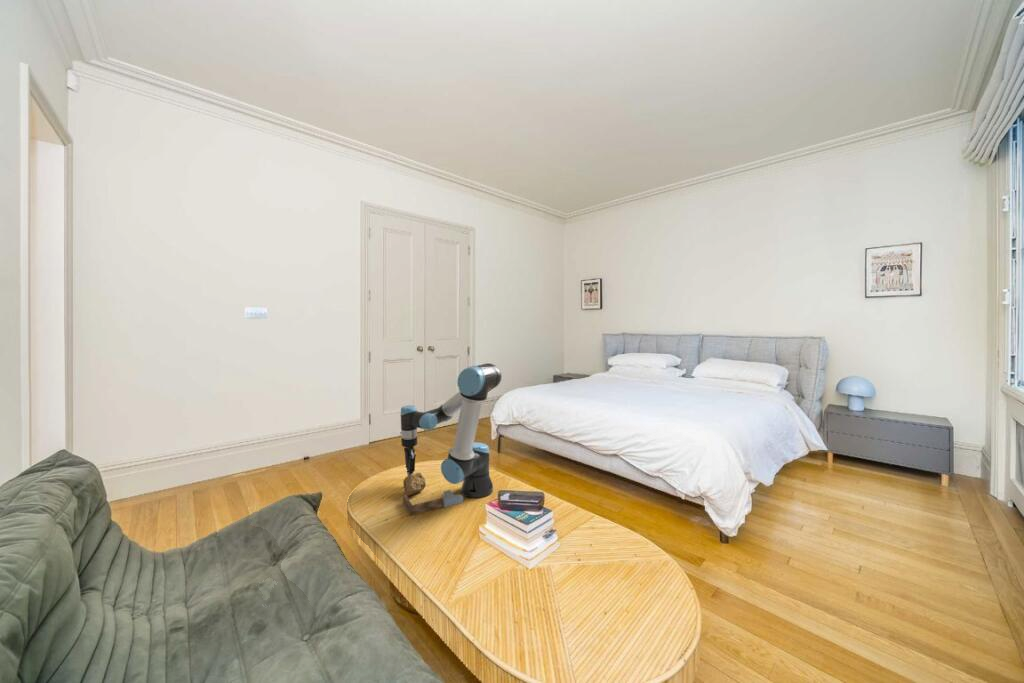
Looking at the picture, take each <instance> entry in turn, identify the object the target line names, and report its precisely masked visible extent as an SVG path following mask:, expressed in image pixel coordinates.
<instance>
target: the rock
mask: <svg viewBox="0 0 1024 683" xmlns="http://www.w3.org/2000/svg"><path fill="white" fill-rule="evenodd" d="M402 485H403V491H404V495H406V496H407V497H410V496H412V495H414V494H416V493H421V492H422V491H423V490H424V489H425V488H426V485H427V483H426V478H425V477H424V476H423V474H422V473H421V472H416V473H414V472H413V473H412V474H411V475H409V476H408V477H407V476H406V477H405V478H404V479H403V484H402Z"/></svg>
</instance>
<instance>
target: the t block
mask: <svg viewBox="0 0 1024 683" xmlns="http://www.w3.org/2000/svg"><path fill="white" fill-rule="evenodd" d="M442 498H443V499H444V507H443V508H448V507H452V506H456V505H460V504H462V503H463V504H464V495H463V494H462V493H457V494H454V493H453V492H452V491H451V490H450V489H449V490H443V497H442Z"/></svg>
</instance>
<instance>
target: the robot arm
mask: <svg viewBox="0 0 1024 683" xmlns="http://www.w3.org/2000/svg"><path fill="white" fill-rule="evenodd" d="M502 377H503V376H502V372H501V370H500V368H499V367H498V366H497V365H495V364H493V363H490V362H489V363H483V364H479V365H472V366H469V367H466V368H464V369H463V370H461V372H460V373H459V375H458V377H457V380H456V382H457V387H458V390H459V391H458V392H457V393H455V394H454V395H453V396H451V397H450V398H449V399H448V400H446V401H445V402H444V403H443V404H441V405H440V406H439V407H435V408H433V409H429V410H427V411H418V409H417V406H415V405H411V404H410V405H403V406H401V407H400V430H401V431H400V434H401V441H400V442H401V446H402V447H404V448H403V452H404V461H405V468H406V474H407V475H406V477H408V476H409V475H411V474H412V473H413V474H414V472H415V470H416V457H417V455H416V454H415V446H417V445H418V429H422V430H425V431H429V430H430V431H431V430H434V429H435V428H436V427H437V425H439V424H441V423H444V422H448V421H449V420H452V419H453V417H454V415H456V414H457V413H458V412H459V415H458V420H457V426H456V430H455V431H456V433H455V435H454V436H455V437H454V442H453V446H452V447H450V448H449V450H448V454H447V458H445V459H443V461H442V462H441V465H440V470H441V474H442V476H443V478H444V479H445V480H446V481H447V482H448V483H450V484H454V485H457V484H459V483H462V485H461V494H462V495H463V496H465V497H467V498H473V499H474V498H475V499H477V498H484V497H488V496H490V495H491V494H492V493H493V492H494V485H493V482H492V478H491V475H490V447H489V445H487V444H486V443H483V442H475V439H476V433H477V430H478V425H479V424H478V423H479V420H480V414H481V410H482V404H483V402H485V401H486V400H487V398H488V394H489V392H490V391H492V390H493V389H495V388H497V387H498V386H499V385H500V383H501V381H502Z"/></svg>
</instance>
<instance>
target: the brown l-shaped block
mask: <svg viewBox="0 0 1024 683" xmlns="http://www.w3.org/2000/svg"><path fill="white" fill-rule="evenodd" d="M443 498H444V497H440V498H436V499H433V500H432V499H431V500H428V501H424V502H420V503H417V504H413V503H412V502H411V501H410V499H409V496H406V494H404V495H402V504H403V506H404V508H405V509H406V511H407V513H408V515H409V516H415V515H417V514H422V513H425V512H429V511H432V510H436V509H437V510H438V509H440V508H444V499H443Z"/></svg>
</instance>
